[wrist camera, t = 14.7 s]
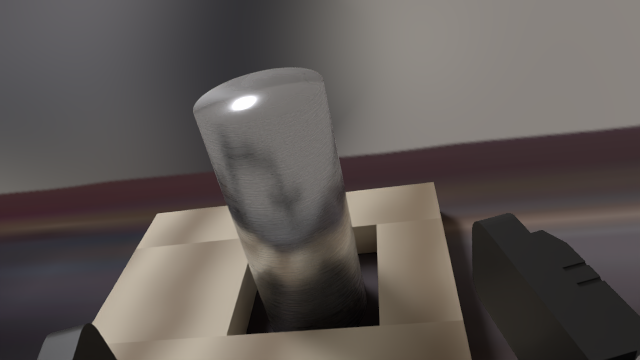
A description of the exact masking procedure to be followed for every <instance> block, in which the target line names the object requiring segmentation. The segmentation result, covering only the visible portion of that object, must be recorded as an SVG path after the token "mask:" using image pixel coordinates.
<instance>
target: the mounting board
mask: <svg viewBox="0 0 640 360" xmlns="http://www.w3.org/2000/svg"><path fill="white" fill-rule="evenodd" d="M346 197H347V202H348V207H349V212H350V217H351V222H352V227H353V232H354V237H355V242H356V247H357V252H358V254H361V253H372V252H377V256H378V287H379V318H380V326H368V327H353V328H337V329H322V330H307V331H292V332H277V333H262V334H247V335H246V332H247V328H248V324H249V320H250V316H251V312H252V308H253V304H254V300H255V296H256V292H257V286H256V283H255V280H254V278H253V275H252V272H251V270H250V267H249V264H248V261H247V259H246V256H245V253H244V250H243V248H242V245H241V242H240V239H239V237H238V234H237V231H236V228H235V226H234V223H233V220H232V217H231V215H230V212H229V209H228V206H221V207H212V208H204V209H195V210H186V211H177V212H168V213H160V214H157V215H156V217H155V219H154V220H153V222H152V224H151V225H150V227H149V229H148V230H147V232H146V234H145V235H144V237H143V239H142V240H141V242H140V244H139V246H138V247H137V249H136V251H135V252H134V254H133V256H132V257H131V259H130V261H129V262H128V264H127V266H126V267H125V269H124V271H123V272H122V274H121V276H120V277H119V279H118V281H117V283H116V284H115V286H114V288H113V289H112V291H111V293H110V294H109V296H108V298H107V299H106V301H105V303H104V304H103V306H102V308H101V309H100V311H99V313H98V314H97V316H96V318H95V320H94V321H93V323H92V324H93V325H94V326H95V327H96V328H97V329H98V331H99V332H100V334H101V335H102V337H103V338H104V340H105V342H106V343H107V345H108V346H109V348H110V349H111V351H112V352H113V354H114V355H115V357H116V359H117V360H472V359H471V354H470V349H469V345H468V340H467V335H466V331H465V326H464V322H463V317H462V312H461V308H460V303H459V298H458V294H457V289H456V284H455V280H454V275H453V271H452V266H451V261H450V257H449V252H448V247H447V243H446V238H445V233H444V229H443V224H442V220H441V215H440V210H439V206H438V201H437V196H436V192H435V187H434V182H432V183H423V184H414V185H405V186H397V187H388V188H379V189H370V190H361V191H353V192H346Z"/></svg>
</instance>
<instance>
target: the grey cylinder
mask: <svg viewBox="0 0 640 360" xmlns="http://www.w3.org/2000/svg"><path fill="white" fill-rule="evenodd" d="M193 113H194V116H195V118H196V121H197V124H198V126H199V129H200V132H201V135H202V137H203V140H204V143H205V145H206V148H207V151H208V154H209V157H210V159H211V162H212V165H213V168H214V171H215V173H216V176H217V179H218V182H219V184H220V187H221V190H222V193H223V195H224V198H225V201H226V204H227V206H228V209H229V212H230V215H231V217H232V220H233V223H234V226H235V228H236V231H237V234H238V237H239V239H240V242H241V245H242V248H243V250H244V253H245V256H246V259H247V261H248V264H249V267H250V270H251V272H252V275H253V278H254V280H255V283H256V286H257V289H258V291H259V294H260V297H261V300H262V302H263V305H264V308H265V311H266V313H267V316H268V319H269V322H270V324H271V327H272V329H273V330H274V332H275V333H277V332H292V331H307V330H322V329H337V328H353V327H356V326H357V325H358V323H359V322H360V321H361V319H362V317H363V315H364V313H365V310H366V304H367V299H366V293H365V288H364V283H363V278H362V273H361V268H360V262H359V257H358V252H357V247H356V242H355V237H354V232H353V227H352V222H351V217H350V212H349V207H348V202H347V197H346V192H345V187H344V182H343V177H342V172H341V167H340V162H339V157H338V152H337V147H336V143H335V137H334V132H333V128H332V122H331V117H330V112H329V107H328V102H327V97H326V92H325V87H324V82H323V78H322V76H321V75H320V74H319V73H317V72H315V71H313V70H310V69H305V68H277V69H270V70H264V71H259V72H255V73H251V74H248V75H244V76H241V77H238V78H235V79H233V80H230V81H228V82H226V83H223V84H221V85H219V86H217V87H215V88H213V89H212V90H210V91H209V92H207V93H206V94H205V95H203V96H202V97H201V98H200V99H199V100H198V101H197V102H196V104H195V105H194V108H193Z"/></svg>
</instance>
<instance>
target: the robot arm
mask: <svg viewBox="0 0 640 360" xmlns="http://www.w3.org/2000/svg"><path fill="white" fill-rule="evenodd" d="M472 265H473V280H474V284H475V288H476V291H477V293H478V296H479V298H480V300H481V302H482V303H483V305H484V307H485V308H486V310H487V311H488V313H489V314H490V316H491V318H492V319H493V321H494V322H495V324H496V325H497V327H498V328H499V330H500V332H501V333H502V335H503V336H504V338H505V339H506V341H507V342H508V344H509V346H510V347H511V349H512V350H513V352H514V353H515V355H516V356H517V358H518V360H640V316H639V315H638V314H637V313H636V312H635V311H634V310H633V309H632V308H631V307H630V306H629V305H628V304H627V303H626V302H625V301H624V300H623V299H622V298H621V297H620V296H619V295H618V294H617V293H616V292H615V291H614V290H613V289H612V288H611V287H610V286H609V285H608V284H607V283H606V282H605V281H602V280H601V278H600V276H599V275H598V274H597V273H596V272H595V271H594V270H593V269H592V268H591V267H590V266H589V265H586V263H585V261H584V260H583V259H582V258H581V257H580V256H579V255H578V254H577V253H576V252H575V251H574V250H573V249H572V248H571V247H570V246H569V245H568V244H567V243H566V242H564V241H562V240H560V239H558V238H556V237H554V236H553V235H551V234H549V233H547V232H545V231H543V230H541V231H537V232H533V233H530V232H529V231H528V230H527V229H526V228H525V226H524V225H523V224H522V223H521V222H520V221H519V220H518V219H517V218H516V217H515V216H514V215H513V214H511V213H506V214H503V215H499V216H495V217H491V218H488V219H484V220H480V221H476V222H474V224H473V227H472ZM37 360H117V359H116V357H115V355H114V354H113V352H112V351H111V349H110V348H109V346H108V345H107V343H106V342H105V340H104V338H103V337H102V335H101V334H100V332H99V331H98V329H97V328H96V327H95V326H94V325H93V324H90V323H88V324H84V325H80V326H77V327H73V328H69V329H65V330H62V331H58V332H54V333H51V334H49V335H48V336H47V338H46V339H45V341H44V343H43V346H42V349H41V351H40V354H39V357H38V359H37Z"/></svg>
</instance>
